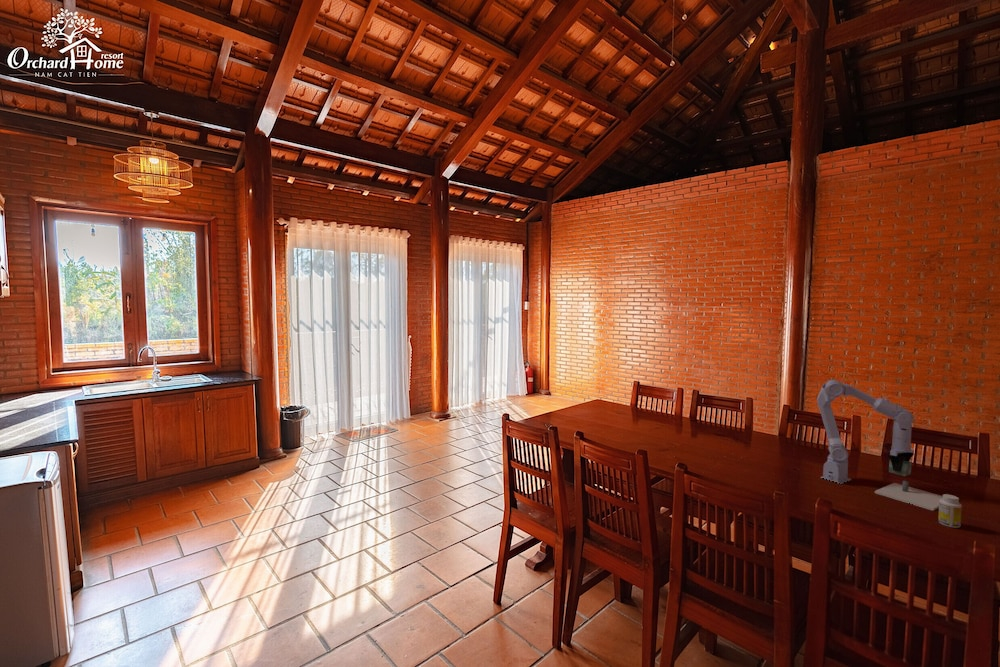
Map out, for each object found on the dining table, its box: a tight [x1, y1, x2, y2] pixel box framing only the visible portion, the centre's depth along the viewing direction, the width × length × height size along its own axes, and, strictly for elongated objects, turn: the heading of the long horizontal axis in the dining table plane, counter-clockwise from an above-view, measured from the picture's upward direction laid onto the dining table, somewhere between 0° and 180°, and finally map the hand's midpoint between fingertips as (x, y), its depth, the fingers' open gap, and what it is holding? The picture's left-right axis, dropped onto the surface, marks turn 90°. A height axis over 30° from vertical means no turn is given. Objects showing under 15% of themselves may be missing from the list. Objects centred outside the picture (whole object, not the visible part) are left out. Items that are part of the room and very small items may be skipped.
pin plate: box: [874, 480, 943, 511], centre depth 178 cm, size 18×18×5 cm
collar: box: [888, 459, 912, 477], centre depth 185 cm, size 5×5×5 cm
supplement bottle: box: [938, 493, 963, 529], centre depth 155 cm, size 6×6×10 cm
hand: (899, 469), depth 185 cm, fingers closed on collar, 5 cm apart
